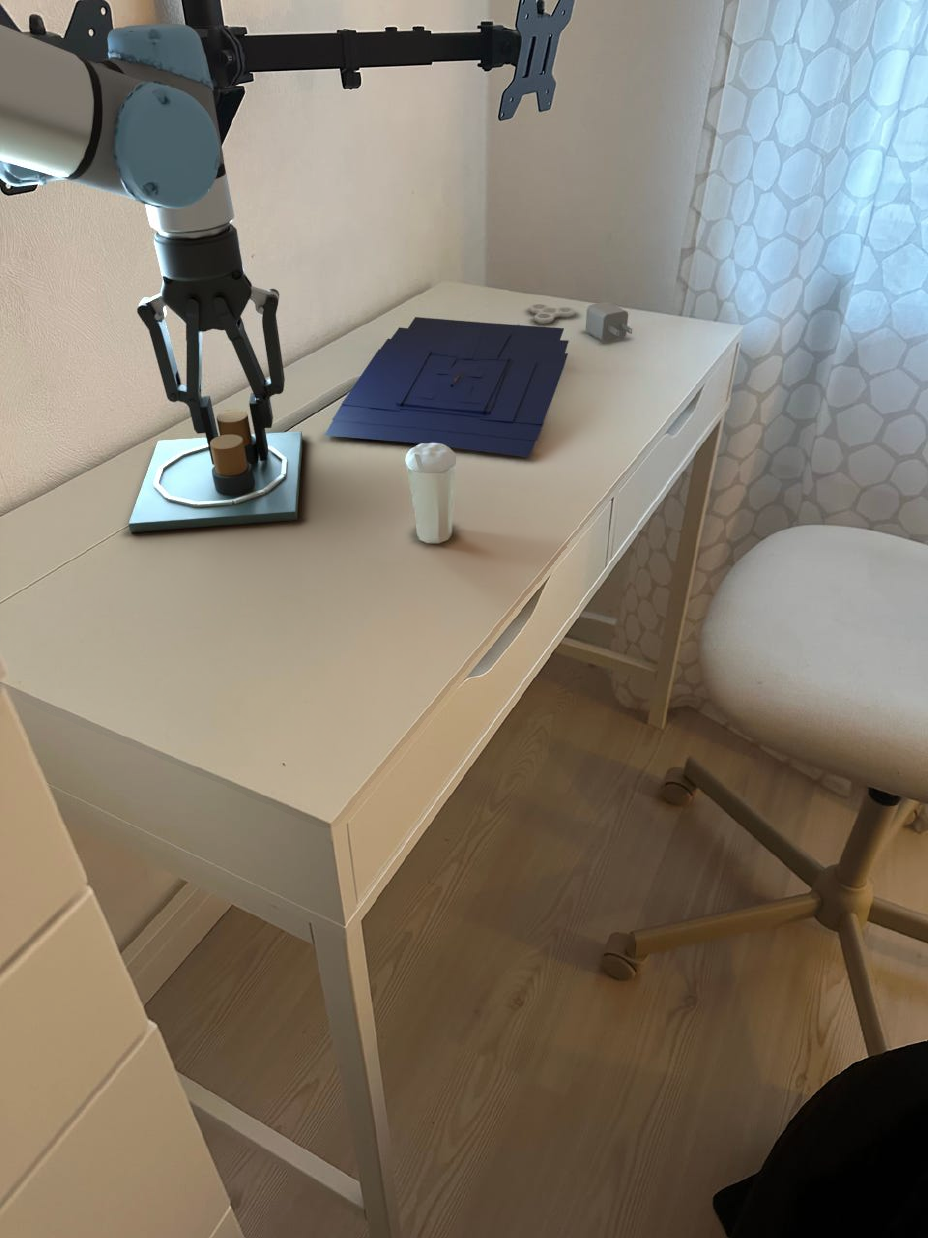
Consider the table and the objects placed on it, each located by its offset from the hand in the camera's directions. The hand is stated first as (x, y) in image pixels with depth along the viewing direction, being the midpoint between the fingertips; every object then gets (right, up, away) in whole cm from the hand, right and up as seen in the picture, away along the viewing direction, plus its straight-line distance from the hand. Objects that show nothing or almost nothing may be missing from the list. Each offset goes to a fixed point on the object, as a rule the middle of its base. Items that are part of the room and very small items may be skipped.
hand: (240, 456), depth 96 cm
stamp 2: (+1, -4, -5) cm, 6 cm away
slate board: (-1, -3, -2) cm, 4 cm away
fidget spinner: (+36, +27, +36) cm, 58 cm away
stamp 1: (0, 0, 0) cm, 0 cm away
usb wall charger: (+45, +22, +29) cm, 57 cm away
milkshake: (+21, -10, -11) cm, 26 cm away
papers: (+23, +10, +15) cm, 29 cm away
